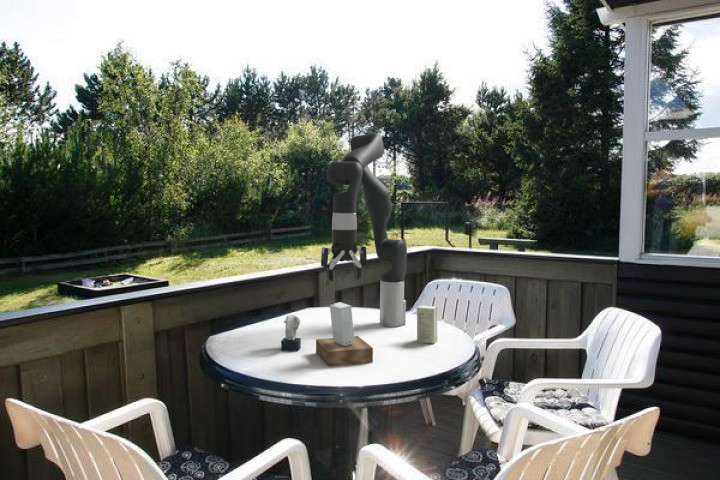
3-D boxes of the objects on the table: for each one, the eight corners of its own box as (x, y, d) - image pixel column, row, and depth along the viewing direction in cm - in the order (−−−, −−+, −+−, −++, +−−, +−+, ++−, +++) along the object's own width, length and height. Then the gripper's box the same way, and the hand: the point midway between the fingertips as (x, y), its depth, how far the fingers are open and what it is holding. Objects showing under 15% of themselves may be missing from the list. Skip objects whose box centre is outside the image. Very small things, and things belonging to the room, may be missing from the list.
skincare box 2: (437, 341, 185) (438, 306, 184) (433, 344, 181) (434, 308, 180) (419, 338, 188) (420, 304, 187) (415, 341, 184) (416, 306, 183)
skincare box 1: (355, 343, 163) (352, 305, 161) (343, 347, 161) (340, 308, 159) (343, 338, 168) (341, 301, 166) (331, 342, 166) (329, 304, 164)
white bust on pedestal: (301, 345, 177) (301, 313, 176) (297, 352, 169) (297, 318, 168) (285, 345, 178) (285, 312, 177) (279, 352, 170) (279, 318, 169)
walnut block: (357, 350, 174) (357, 335, 174) (372, 364, 161) (372, 347, 160) (315, 354, 169) (316, 339, 169) (328, 368, 156) (328, 351, 156)
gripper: (360, 226, 168) (359, 277, 170) (318, 227, 162) (317, 280, 164) (370, 228, 161) (370, 281, 163) (327, 229, 155) (326, 284, 157)
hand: (343, 280), depth 163 cm, fingers open, 8 cm apart
